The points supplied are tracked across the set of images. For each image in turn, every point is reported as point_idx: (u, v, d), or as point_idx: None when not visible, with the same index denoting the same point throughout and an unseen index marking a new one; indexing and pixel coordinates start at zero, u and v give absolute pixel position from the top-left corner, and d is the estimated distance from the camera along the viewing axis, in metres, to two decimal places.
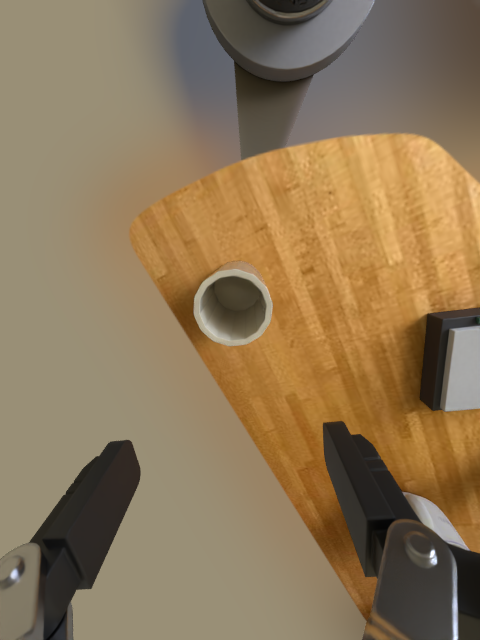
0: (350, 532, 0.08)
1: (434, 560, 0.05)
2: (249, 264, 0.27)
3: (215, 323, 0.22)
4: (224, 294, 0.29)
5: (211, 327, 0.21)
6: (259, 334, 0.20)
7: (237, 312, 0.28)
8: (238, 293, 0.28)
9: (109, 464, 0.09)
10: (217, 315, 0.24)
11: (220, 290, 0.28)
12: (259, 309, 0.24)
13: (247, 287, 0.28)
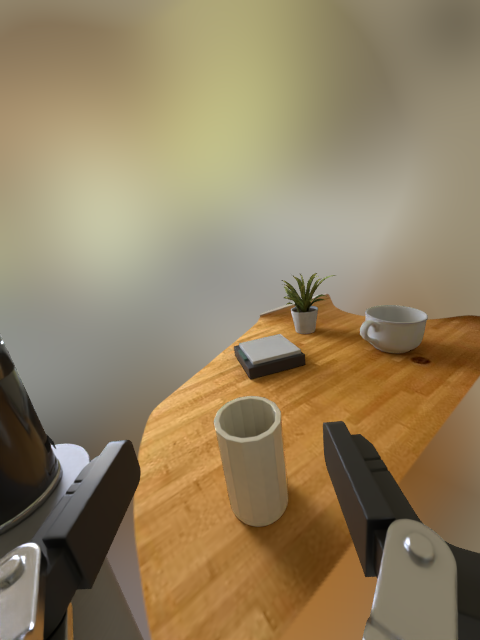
0: (350, 532, 0.08)
1: (434, 560, 0.05)
2: None
3: None
4: None
5: None
6: (263, 398, 0.25)
7: None
8: None
9: (109, 464, 0.09)
10: None
11: None
12: (259, 433, 0.27)
13: None
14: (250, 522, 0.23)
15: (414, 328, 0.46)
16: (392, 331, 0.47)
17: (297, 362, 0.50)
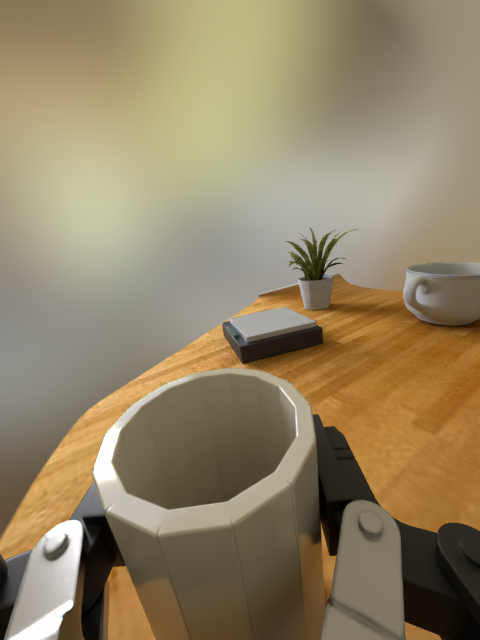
0: (320, 516, 0.08)
1: (381, 534, 0.06)
2: None
3: None
4: None
5: None
6: (259, 372, 0.10)
7: None
8: None
9: None
10: None
11: None
12: (249, 460, 0.11)
13: None
14: None
15: None
16: (454, 290, 0.31)
17: (311, 339, 0.34)
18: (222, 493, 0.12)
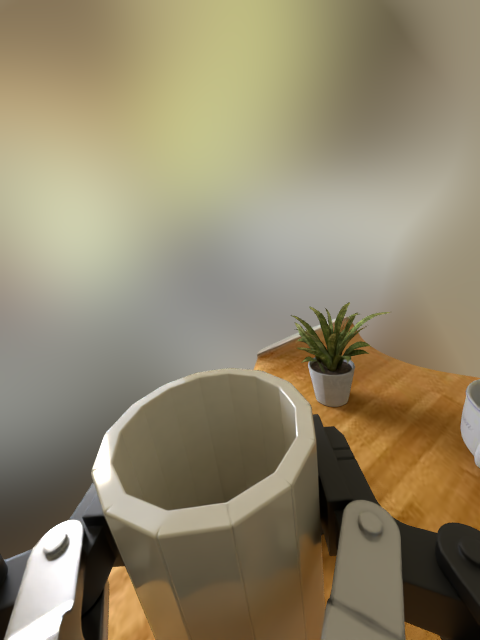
0: (320, 516, 0.08)
1: (381, 534, 0.06)
2: None
3: None
4: None
5: None
6: (259, 372, 0.10)
7: None
8: None
9: None
10: None
11: None
12: (249, 460, 0.11)
13: None
14: None
15: None
16: None
17: None
18: (222, 493, 0.12)
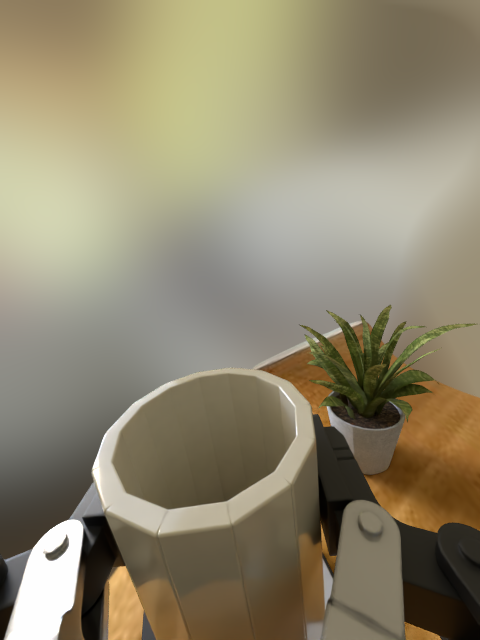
0: None
1: (381, 534, 0.06)
2: None
3: None
4: None
5: None
6: (259, 372, 0.10)
7: None
8: None
9: None
10: None
11: None
12: (249, 459, 0.11)
13: None
14: None
15: None
16: None
17: None
18: (222, 493, 0.12)
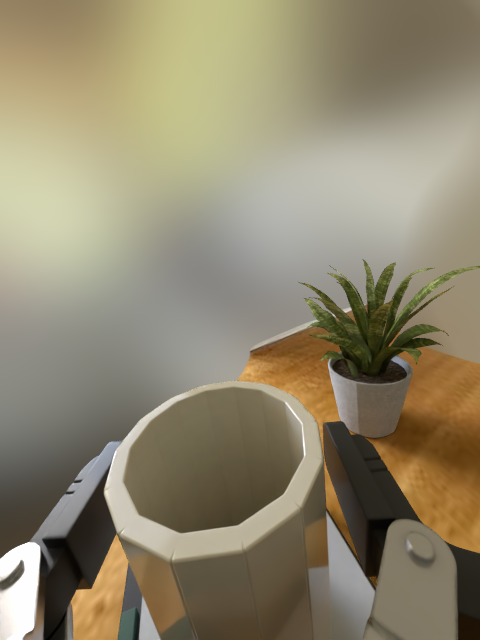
0: (350, 532, 0.08)
1: (434, 560, 0.05)
2: None
3: None
4: None
5: None
6: (265, 385, 0.10)
7: None
8: None
9: (109, 464, 0.09)
10: None
11: None
12: (254, 470, 0.11)
13: None
14: None
15: None
16: None
17: None
18: (228, 503, 0.12)
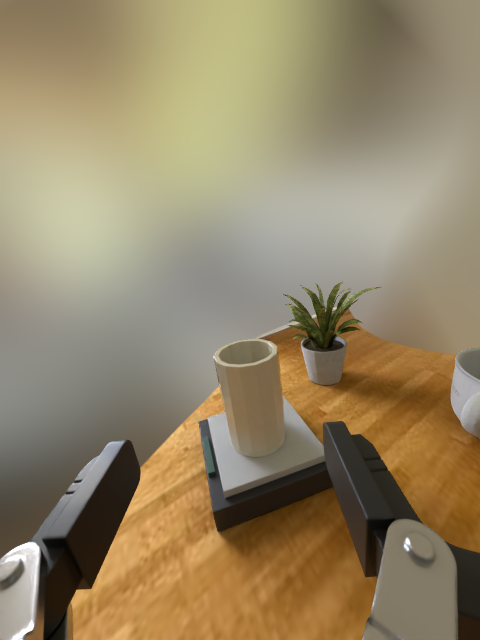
0: (350, 532, 0.08)
1: (434, 560, 0.05)
2: None
3: None
4: None
5: None
6: (261, 339, 0.26)
7: None
8: None
9: (109, 464, 0.09)
10: None
11: None
12: None
13: None
14: (249, 453, 0.24)
15: None
16: None
17: (322, 482, 0.23)
18: None
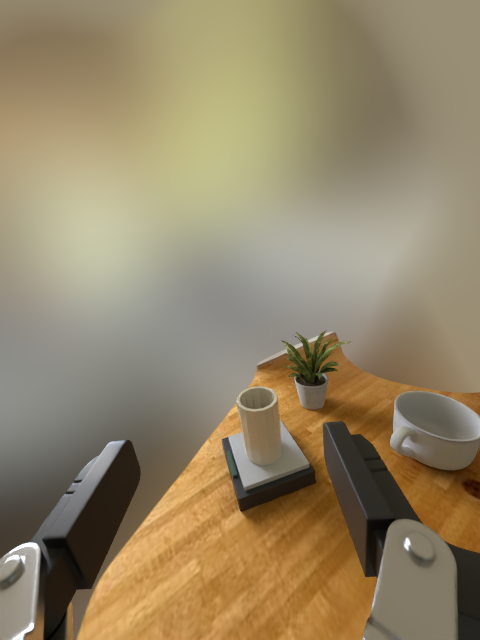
0: (350, 532, 0.08)
1: (434, 560, 0.05)
2: None
3: None
4: None
5: None
6: (266, 387, 0.40)
7: None
8: None
9: (109, 464, 0.09)
10: None
11: None
12: None
13: None
14: (259, 462, 0.38)
15: (469, 447, 0.33)
16: (437, 447, 0.34)
17: (305, 481, 0.37)
18: None
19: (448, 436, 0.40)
